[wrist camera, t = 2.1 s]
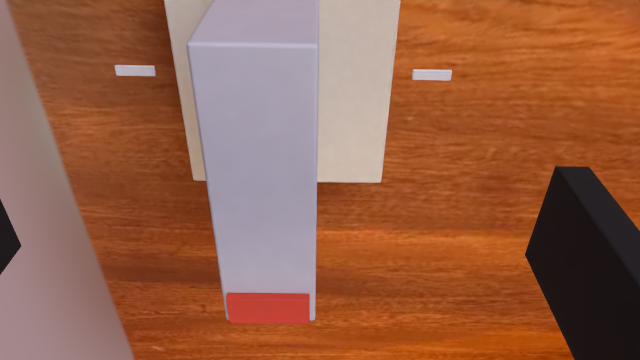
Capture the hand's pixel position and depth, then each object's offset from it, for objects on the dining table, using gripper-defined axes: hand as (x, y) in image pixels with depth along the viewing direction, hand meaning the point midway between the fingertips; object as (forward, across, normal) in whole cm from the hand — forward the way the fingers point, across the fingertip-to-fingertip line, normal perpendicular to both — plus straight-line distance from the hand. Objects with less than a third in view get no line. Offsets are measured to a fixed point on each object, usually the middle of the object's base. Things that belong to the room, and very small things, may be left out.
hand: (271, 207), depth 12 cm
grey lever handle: (+8, 0, 0) cm, 8 cm away
